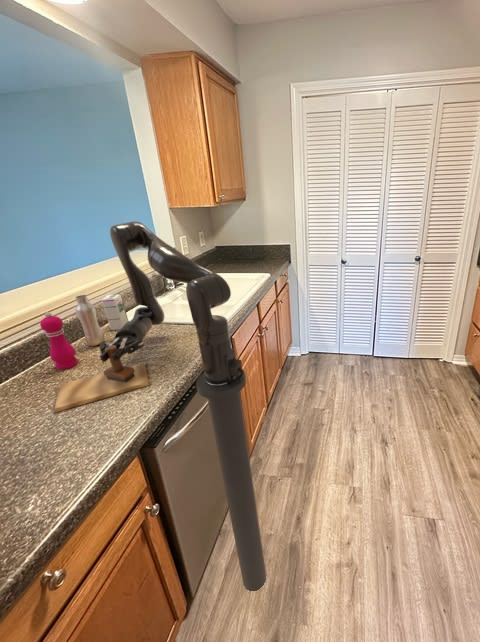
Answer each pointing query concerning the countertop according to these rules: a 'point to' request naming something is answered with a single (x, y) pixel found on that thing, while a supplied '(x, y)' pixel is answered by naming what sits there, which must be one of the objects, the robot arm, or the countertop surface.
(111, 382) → the cutting board
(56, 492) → the countertop surface
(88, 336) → the plastic bottle
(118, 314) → the syrup box
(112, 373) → the scrub brush
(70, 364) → the pepper mill
